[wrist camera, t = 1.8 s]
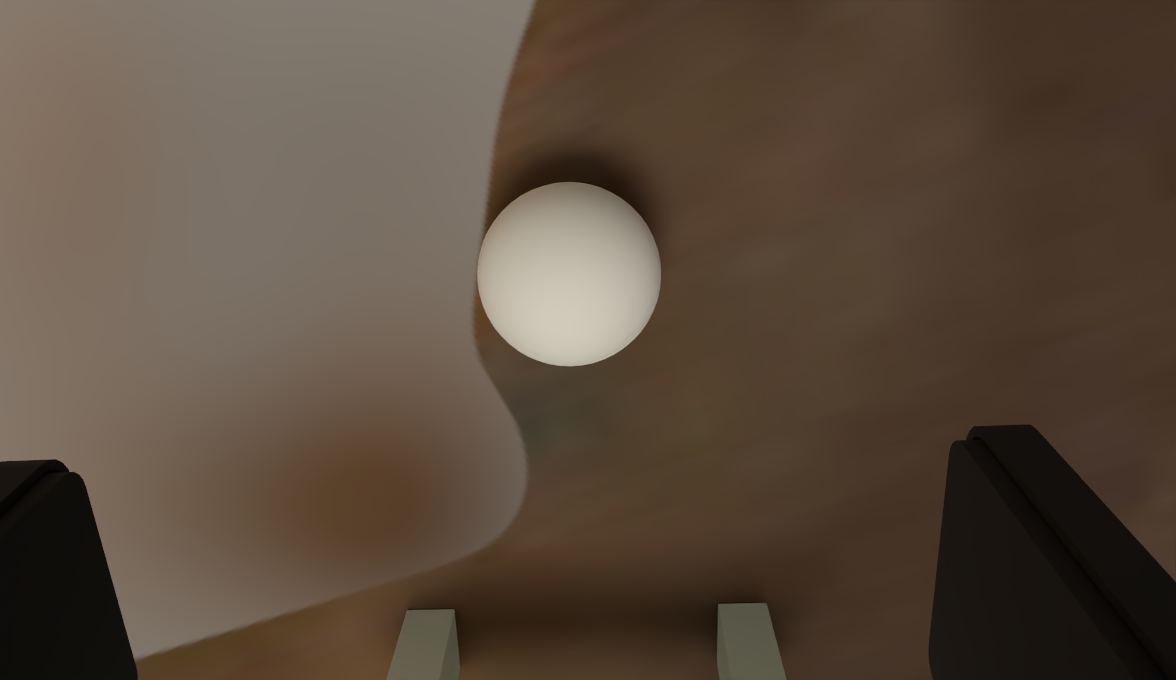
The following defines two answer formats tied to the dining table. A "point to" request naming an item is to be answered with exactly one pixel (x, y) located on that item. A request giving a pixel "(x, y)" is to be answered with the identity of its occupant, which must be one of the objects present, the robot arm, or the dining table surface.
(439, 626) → the bridge
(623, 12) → the dining table surface
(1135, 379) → the dining table surface
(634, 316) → the ball
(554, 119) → the dining table surface
